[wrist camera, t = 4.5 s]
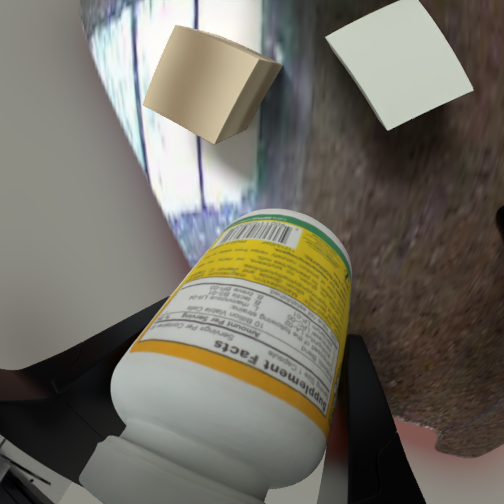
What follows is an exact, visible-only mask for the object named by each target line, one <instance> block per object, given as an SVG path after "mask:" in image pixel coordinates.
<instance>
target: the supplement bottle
mask: <svg viewBox="0 0 504 504" xmlns="http://www.w3.org/2000/svg"><path fill="white" fill-rule="evenodd" d="M351 285H352V268H351V262H350V259H349V256H348V254H347V252H346V249H345V248H344V246H343V245H342V243H341V242H340V241H339V239H338V238H337V237H336V236H335V235H334V234H333V233H332V232H331V231H330V230H329V229H328V228H326V227H325V226H324V225H323V224H321V223H320V222H318V221H317V220H315V219H313V218H312V217H310V216H307V215H305V214H302V213H299V212H295V211H291V210H286V209H263V210H257V211H253V212H250V213H247V214H245V215H243V216H241V217H240V218H238V219H236V220H235V221H233V222H232V223H231V224H230V225H229V226H228V227H227V228H226V229H225V230H224V231H223V232H222V233H221V235H220V236H219V237H218V238H217V240H216V241H215V242H214V243H213V244H212V246H211V247H210V248H209V249H208V251H207V252H206V253H205V254H204V255H203V257H202V258H201V259H200V260H199V261H198V263H197V264H196V265H195V266H194V267H193V269H192V270H191V271H190V272H189V274H188V275H187V276H186V277H185V279H184V280H183V281H182V282H181V284H180V285H179V286H178V288H177V289H176V290H175V291H174V292H173V294H172V295H171V296H170V297H169V299H168V300H167V301H166V302H165V304H164V305H163V306H162V308H161V309H160V310H159V311H158V313H157V314H156V315H155V316H154V318H153V319H152V320H151V322H150V323H149V324H148V325H147V327H146V328H145V329H144V330H143V332H142V333H141V334H140V335H139V337H138V338H137V339H136V340H135V342H134V343H133V344H132V345H131V347H130V348H129V349H128V351H127V352H126V353H125V355H124V356H123V357H122V359H121V360H120V362H119V363H118V364H117V366H116V368H115V370H114V373H113V375H112V380H111V397H112V401H113V404H114V407H115V409H116V411H117V413H118V415H119V416H120V418H121V419H122V421H123V422H124V423H125V425H126V428H125V430H124V431H123V432H122V434H121V435H120V436H119V437H116V436H108V437H107V438H106V439H105V440H104V441H103V442H100V443H98V444H97V447H96V449H95V451H94V453H93V455H92V456H91V458H90V460H89V461H88V463H87V465H86V466H85V468H84V469H83V471H82V473H81V474H80V476H79V482H80V483H81V484H82V485H83V487H84V488H85V489H86V490H88V491H89V492H90V493H91V494H92V495H93V496H95V497H96V498H97V499H99V500H100V501H101V502H102V503H103V504H265V503H264V500H265V497H266V494H267V491H268V489H277V488H283V487H288V486H291V485H294V484H296V483H298V482H300V481H302V480H303V479H305V478H307V477H308V476H309V475H310V474H311V473H312V472H313V471H314V470H315V469H316V468H317V466H318V464H319V463H320V461H321V460H322V457H323V455H324V452H325V449H326V446H327V442H328V438H329V433H330V430H331V427H332V421H333V414H334V410H335V405H336V399H337V393H338V387H339V382H340V377H341V369H342V364H343V359H344V352H345V344H346V337H347V329H348V320H349V312H350V301H351Z"/></svg>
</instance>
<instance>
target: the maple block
mask: <svg viewBox="0 0 504 504" xmlns="http://www.w3.org/2000/svg"><path fill="white" fill-rule="evenodd" d="M282 66H283V65H281V64H279V63H278V62H276V61H274V60H272V59H270V58H268V57H266V56H264V55H262V54H259V53H257V52H255V51H253V50H251V49H249V48H247V47H244V46H242V45H240V44H238V43H235V42H233V41H231V40H228V39H226V38H223V37H221V36H218V35H216V34H212V33H208V32H204V31H200V30H196V29H192V28H188V27H183V26H178V25H175V27H174V29H173V32H172V34H171V36H170V38H169V40H168V42H167V45H166V47H165V49H164V51H163V54H162V56H161V58H160V61H159V63H158V66H157V68H156V70H155V73H154V76H153V78H152V81H151V83H150V86H149V89H148V91H147V94H146V97H145V100H144V102H143V106H145V107H147V108H149V109H151V110H153V111H155V112H157V113H159V114H160V115H162V116H164V117H166V118H168V119H170V120H172V121H173V122H175V123H177V124H179V125H181V126H182V127H184V128H186V129H188V130H189V131H191V132H193V133H195V134H197V135H198V136H200V137H202V138H203V139H205V140H207V141H209V142H210V143H212V144H216V143H219V142H221V141H223V140H225V139H227V138H229V137H231V136H233V135H235V134H237V133H240V132H242V131H244V130H246V129H247V127H248V125H249V124H250V122H251V120H252V118H253V116H254V115H255V113H256V111H257V109H258V107H259V106H260V104H261V102H262V100H263V99H264V97H265V95H266V93H267V92H268V90H269V88H270V87H271V85H272V83H273V81H274V80H275V78H276V76H277V75H278V73H279V71H280V70H281V68H282Z"/></svg>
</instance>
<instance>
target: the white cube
mask: <svg viewBox="0 0 504 504" xmlns="http://www.w3.org/2000/svg"><path fill="white" fill-rule="evenodd" d="M325 38H326V40H327V41H328V43H329V45H330V47H331V49H332V51H333V52H334V53H335V55H336V56H337V57H338V59H339V60H340V61H341V63H342V64H343V65H344V67H345V68H346V70H347V71H348V73H349V74H350V75H351V77H352V78H353V80H354V81H355V83H356V84H357V86H358V87H359V89H360V90H361V92H362V93H363V95H364V97H365V98H366V100H367V101H368V103H369V105H370V106H371V108H372V110H373V111H374V113H375V115H376V116H377V118H378V120H379V121H380V122H381V123H382V124H383V126H384V127H385V128H386V129H387V131H388V130H390V129H392V128H394V127H396V126H398V125H400V124H402V123H404V122H406V121H408V120H411V119H413V118H415V117H417V116H419V115H421V114H423V113H425V112H427V111H429V110H431V109H434V108H436V107H438V106H440V105H442V104H444V103H446V102H449V101H451V100H453V99H455V98H457V97H460V96H462V95H464V94H466V93H468V92H471V91H473V88H472V86H471V84H470V82H469V80H468V78H467V76H466V74H465V72H464V70H463V68H462V66H461V64H460V63H459V61H458V59H457V57H456V55H455V54H454V52H453V50H452V49H451V47H450V45H449V44H448V42H447V41H446V39H445V37H444V36H443V34H442V33H441V31H440V30H439V28H438V27H437V25H436V24H435V22H434V21H433V19H432V18H431V17H430V15H429V14H428V12H427V11H426V10H425V8H424V7H423V6H422V4H421V3H420V2H419V0H400V1H397V2H395V3H393V4H390V5H388V6H386V7H384V8H381V9H379V10H377V11H375V12H373V13H370V14H368V15H366V16H364V17H362V18H360V19H358V20H356V21H354V22H352V23H350V24H348V25H346V26H344V27H343V28H341V29H339V30H337V31H335V32H333V33H332V34H330V35H328V36H326V37H325Z"/></svg>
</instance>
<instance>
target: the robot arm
mask: <svg viewBox="0 0 504 504" xmlns="http://www.w3.org/2000/svg"><path fill="white" fill-rule="evenodd" d="M503 213H504V206H503V207H501V208H500V209H499V210H498V212H497V217H498V220H499V222H500V225H501V227H502V230H503V233H504V217H502V215H503ZM169 297H170V296H169ZM169 297H166V298H164V299H162V300H160V301H158V302H156V303H155V304H153V305H151V306H149V307H147V308H145V309H143V310H141V311H140V312H138V313H136V314H134V315H132V316H130V317H128V318H126V319H124V320H123V321H121V322H119V323H117V324H115V325H113V326H111V327H109V328H108V329H106V330H104V331H102V332H100V333H98V334H96V335H94V336H93V337H91V338H89V339H87V340H85V341H84V342H81V343H79V344H77V345H76V346H73V347H71V348H70V349H68V350H66V351H64V352H62V353H59V354H57V355H55V356H52V357H50V358H48V359H46V360H43V361H41V362H38V363H36V364H33V365H31V366H29V367H26V368H23V369H20V370H5V369H0V504H58V503H59V501H60V500H61V498H62V497H63V495H64V493H65V492H66V490H67V489H68V487H69V485H70V484H71V482H74V483H76V484H78V485H80V486H82V487H83V485H82V484H81V483H80V482H79V476H80V474H81V473H82V471H83V469H84V468H85V466H86V465H87V463H88V461H89V460H90V458H91V456H92V455H93V453H94V451H95V449H96V447H97V444H98V443H100V442H103V441H104V440H105V439H106V438H107V437H108V436H116V437H119V436H120V435H121V434H122V432H123V431H124V430H125V428H126V425H125V423H124V422H123V421H122V419H121V418H120V416H119V415H118V413H117V411H116V409H115V407H114V404H113V401H112V397H111V380H112V375H113V373H114V370H115V368H116V366H117V364H118V363H119V362H120V360H121V359H122V357H123V356H124V355H125V353H126V352H127V351H128V349H129V348H130V347H131V345H132V344H133V343H134V342H135V340H136V339H137V338H138V337H139V335H140V334H141V333H142V332H143V330H144V329H145V328H146V327H147V325H148V324H149V323H150V322H151V320H152V319H153V318H154V316H155V315H156V314H157V313H158V311H159V310H160V309H161V308H162V306H163V305H164V304H165V302H166V301H167V300H168V299H169ZM396 431H397V429H396V426H395V423H394V420H393V417H392V414H391V411H390V408H389V406H388V403H387V400H386V397H385V394H384V392H383V389H382V386H381V384H380V381H379V378H378V376H377V373H376V370H375V368H374V365H373V363H372V360H371V358H370V355H369V353H368V350H367V348H366V345H365V343H364V340H363V338H362V336H360V335H354V334H349V335H348V336H347V339H346V344H345V352H344V359H343V364H342V369H341V377H340V382H339V387H338V393H337V399H336V405H335V410H334V414H333V421H332V427H331V430H330V433H329V438H328V442H327V447H326V454H325V461H324V467H323V473H322V479H321V485H320V491H319V496H318V501H317V504H426V502H425V499H424V497H423V495H422V493H421V490H420V488H419V486H418V484H417V481H416V479H415V477H414V475H413V472H412V470H411V468H410V465H409V463H408V460H407V458H406V455H405V452H404V449H403V446H402V444H401V441H400V437H399V435H398V433H397V432H396Z"/></svg>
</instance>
